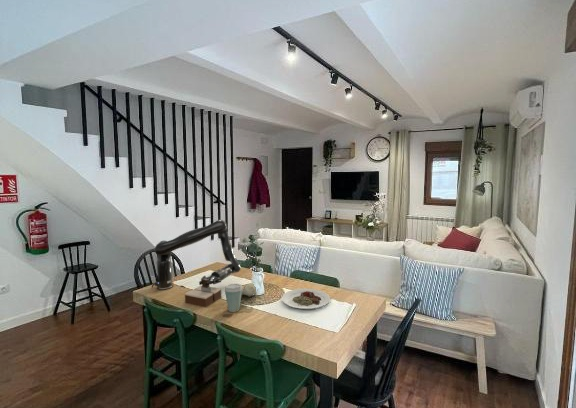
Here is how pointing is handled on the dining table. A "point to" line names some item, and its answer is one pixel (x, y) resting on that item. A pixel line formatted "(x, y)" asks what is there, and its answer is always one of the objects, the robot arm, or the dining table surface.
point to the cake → (202, 296)
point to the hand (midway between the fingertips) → (202, 283)
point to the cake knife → (205, 288)
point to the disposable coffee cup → (233, 296)
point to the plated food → (306, 298)
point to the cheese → (249, 290)
